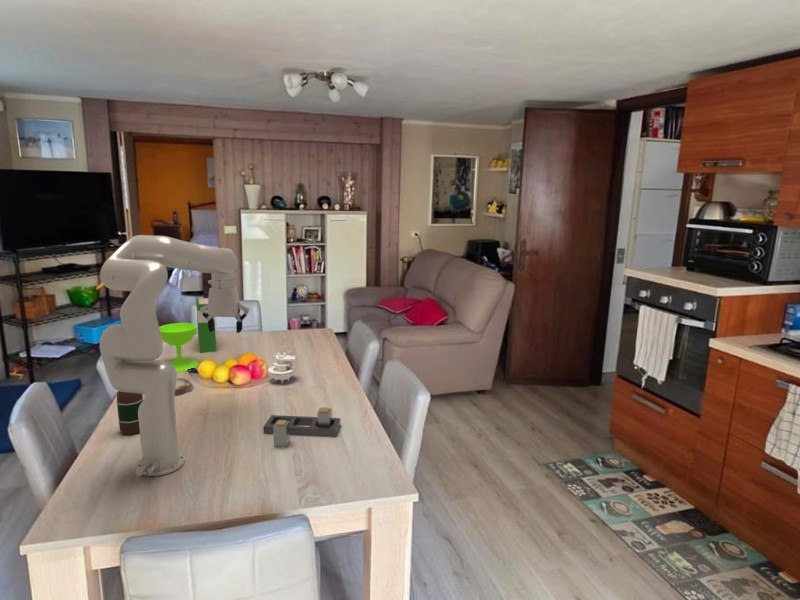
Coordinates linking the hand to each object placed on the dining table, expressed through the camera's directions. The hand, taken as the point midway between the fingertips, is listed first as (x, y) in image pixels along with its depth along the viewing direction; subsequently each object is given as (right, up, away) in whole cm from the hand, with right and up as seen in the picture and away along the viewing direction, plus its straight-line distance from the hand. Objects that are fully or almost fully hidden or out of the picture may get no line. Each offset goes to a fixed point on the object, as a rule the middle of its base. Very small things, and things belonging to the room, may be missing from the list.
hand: (225, 331), depth 185 cm
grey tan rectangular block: (+37, -33, -10) cm, 50 cm away
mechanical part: (+13, -23, +34) cm, 43 cm away
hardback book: (-35, -13, +76) cm, 85 cm away
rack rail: (+29, -32, -9) cm, 45 cm away
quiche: (-28, -25, +22) cm, 44 cm away
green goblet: (-37, -19, +48) cm, 63 cm away
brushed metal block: (+25, -35, -20) cm, 47 cm away
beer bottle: (-26, -32, -13) cm, 43 cm away
